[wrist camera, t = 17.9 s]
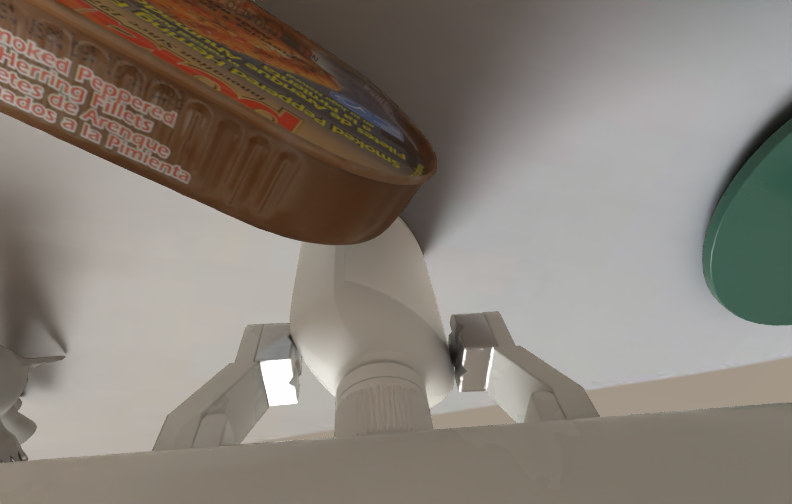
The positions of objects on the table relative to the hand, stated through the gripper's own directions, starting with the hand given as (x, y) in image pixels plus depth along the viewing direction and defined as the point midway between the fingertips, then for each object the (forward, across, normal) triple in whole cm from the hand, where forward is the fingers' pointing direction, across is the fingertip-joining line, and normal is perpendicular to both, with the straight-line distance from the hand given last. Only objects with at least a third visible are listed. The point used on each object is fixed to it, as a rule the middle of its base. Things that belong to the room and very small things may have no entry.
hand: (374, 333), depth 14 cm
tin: (+6, +5, -8) cm, 11 cm away
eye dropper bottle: (+6, 0, 0) cm, 6 cm away
